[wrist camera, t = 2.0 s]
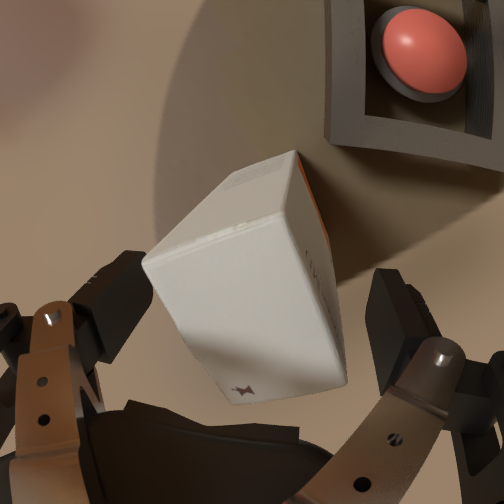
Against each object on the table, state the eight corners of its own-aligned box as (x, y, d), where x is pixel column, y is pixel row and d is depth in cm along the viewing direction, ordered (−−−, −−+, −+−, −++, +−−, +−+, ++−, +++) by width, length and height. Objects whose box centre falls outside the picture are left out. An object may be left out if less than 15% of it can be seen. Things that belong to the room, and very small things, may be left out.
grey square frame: (474, 1, 10) (504, -13, 7) (474, 158, 15) (507, 173, 12) (322, -33, 12) (326, -63, 8) (323, 136, 17) (330, 144, 13)
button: (460, 21, 11) (471, 17, 9) (461, 111, 13) (473, 113, 12) (367, -1, 11) (373, -10, 10) (369, 93, 14) (375, 92, 13)
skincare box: (330, 236, 19) (351, 390, 9) (267, 256, 21) (228, 410, 10) (296, 144, 17) (286, 209, 7) (229, 170, 18) (130, 265, 8)
